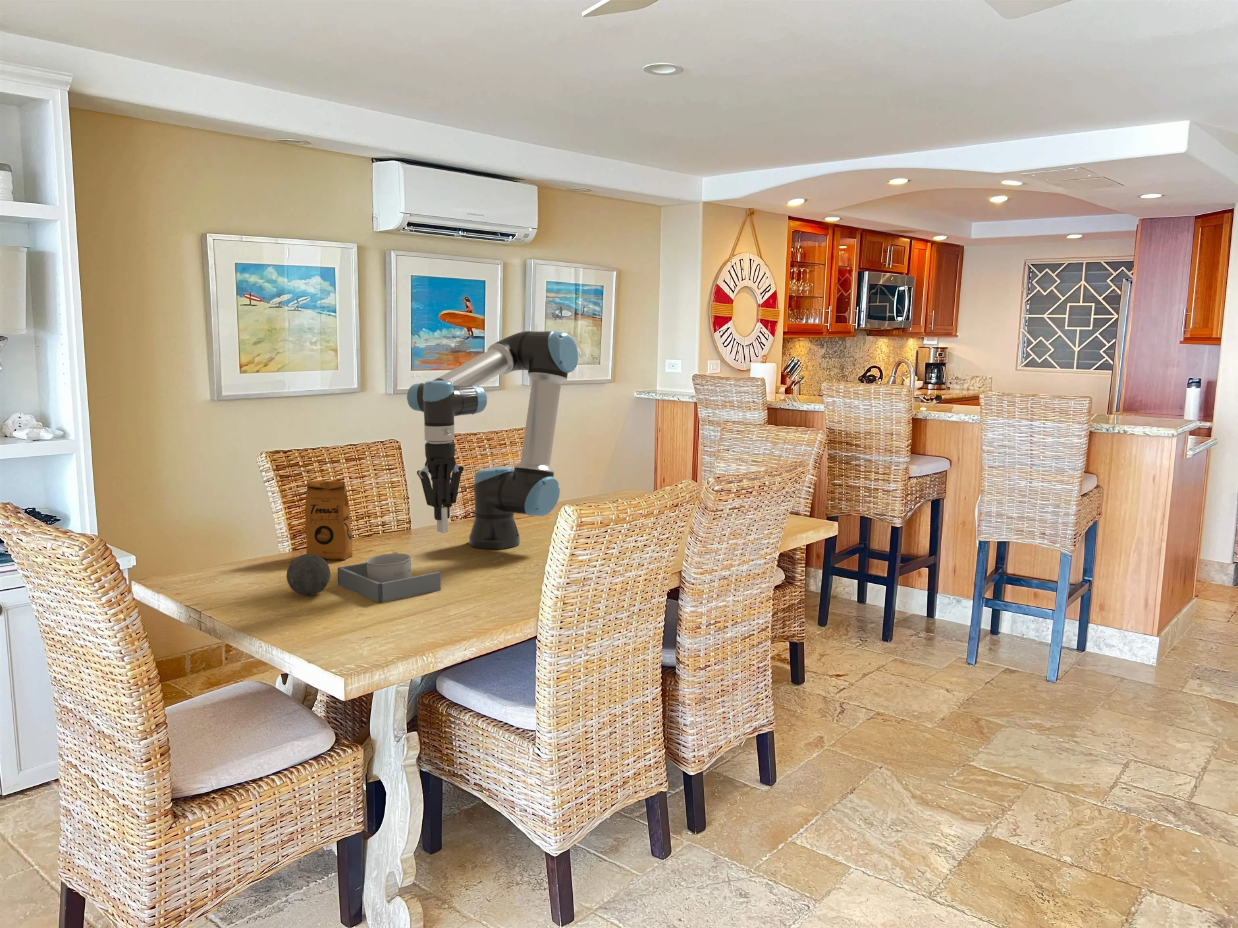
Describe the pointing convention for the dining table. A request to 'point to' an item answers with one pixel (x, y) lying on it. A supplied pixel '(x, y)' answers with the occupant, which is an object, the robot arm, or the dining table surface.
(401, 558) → the teacup
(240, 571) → the dining table surface
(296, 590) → the decorative ball
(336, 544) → the coffee package
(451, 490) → the robot arm
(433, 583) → the box
